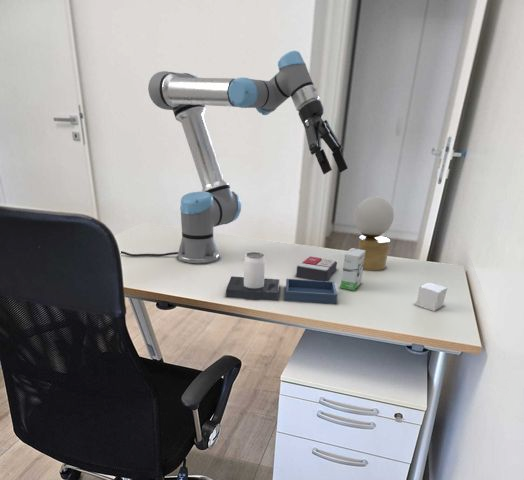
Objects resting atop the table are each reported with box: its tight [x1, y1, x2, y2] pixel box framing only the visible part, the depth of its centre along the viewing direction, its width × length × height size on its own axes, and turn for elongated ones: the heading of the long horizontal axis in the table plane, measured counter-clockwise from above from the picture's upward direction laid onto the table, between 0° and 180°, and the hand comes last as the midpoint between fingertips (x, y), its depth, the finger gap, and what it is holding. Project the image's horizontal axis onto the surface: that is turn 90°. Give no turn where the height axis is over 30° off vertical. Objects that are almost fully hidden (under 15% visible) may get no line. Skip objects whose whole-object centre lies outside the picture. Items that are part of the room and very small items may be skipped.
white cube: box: [415, 282, 448, 312], centre depth 134 cm, size 6×6×6 cm
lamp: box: [353, 195, 395, 272], centre depth 163 cm, size 15×14×25 cm
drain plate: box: [225, 275, 281, 301], centre depth 139 cm, size 16×13×2 cm
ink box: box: [339, 247, 365, 291], centre depth 145 cm, size 9×5×12 cm, turn 153°
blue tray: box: [284, 278, 338, 305], centre depth 138 cm, size 16×12×3 cm
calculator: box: [295, 256, 338, 281], centre depth 157 cm, size 11×4×15 cm
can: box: [243, 251, 266, 288], centre depth 137 cm, size 6×6×12 cm
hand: (336, 171), depth 138 cm, fingers open, 13 cm apart
